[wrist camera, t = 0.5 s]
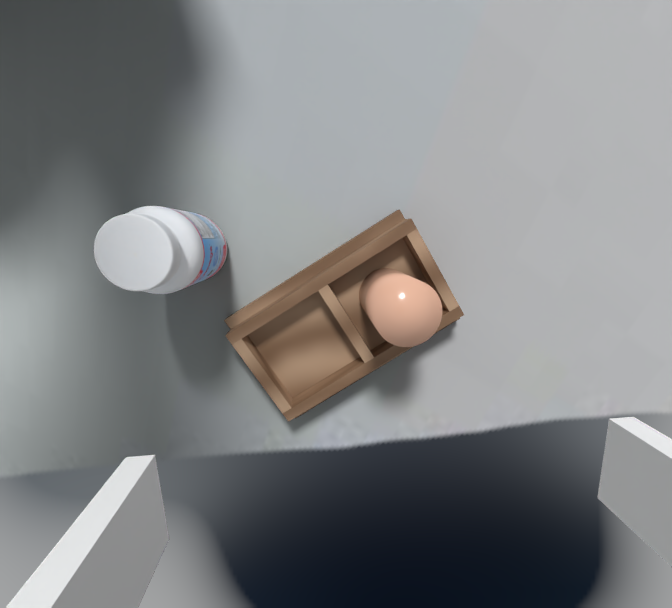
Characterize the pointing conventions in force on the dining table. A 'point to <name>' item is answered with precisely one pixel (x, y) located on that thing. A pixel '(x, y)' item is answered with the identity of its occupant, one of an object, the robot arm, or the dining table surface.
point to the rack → (331, 318)
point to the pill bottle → (159, 249)
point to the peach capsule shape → (400, 307)
